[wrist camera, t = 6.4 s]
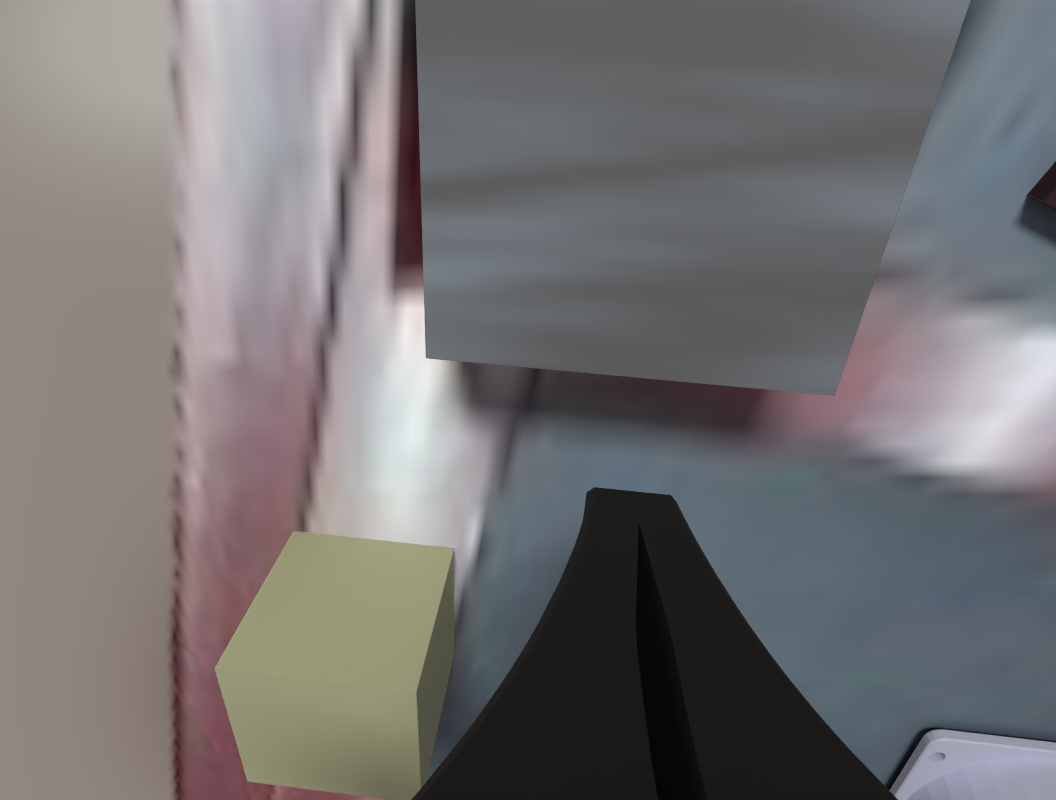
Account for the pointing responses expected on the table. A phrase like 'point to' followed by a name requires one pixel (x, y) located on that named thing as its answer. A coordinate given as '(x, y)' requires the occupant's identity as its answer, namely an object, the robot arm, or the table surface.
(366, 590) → the olive cube
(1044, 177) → the chocolate bar
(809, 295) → the beech slab
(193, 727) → the table surface
